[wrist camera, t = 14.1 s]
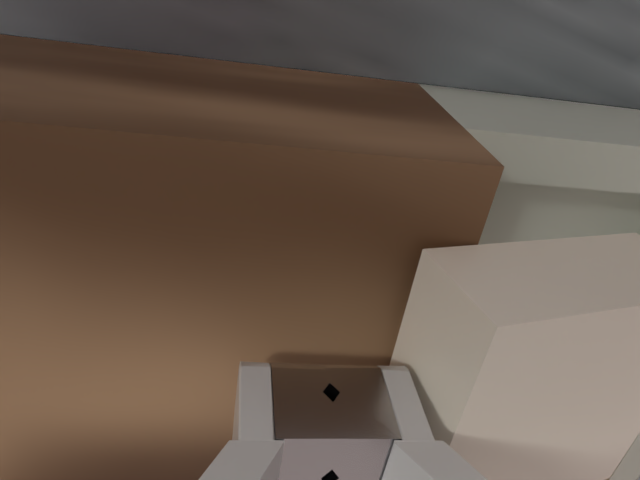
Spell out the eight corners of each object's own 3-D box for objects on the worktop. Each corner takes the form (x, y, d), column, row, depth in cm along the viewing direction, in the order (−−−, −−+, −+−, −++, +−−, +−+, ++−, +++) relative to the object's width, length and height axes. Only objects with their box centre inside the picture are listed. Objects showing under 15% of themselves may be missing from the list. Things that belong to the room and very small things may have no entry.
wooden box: (-155, 15, 11) (-422, 81, 6) (418, 83, 13) (504, 166, 8) (-16, 503, 19) (-94, 677, 14) (322, 496, 21) (341, 645, 16)
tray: (418, 83, 13) (464, 128, 10) (737, 121, 14) (852, 169, 12) (322, 496, 21) (333, 583, 18) (533, 491, 22) (573, 571, 20)
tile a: (422, 249, 9) (497, 326, 7) (635, 232, 11) (732, 291, 9) (365, 450, 11) (411, 540, 10) (546, 407, 13) (609, 478, 12)
